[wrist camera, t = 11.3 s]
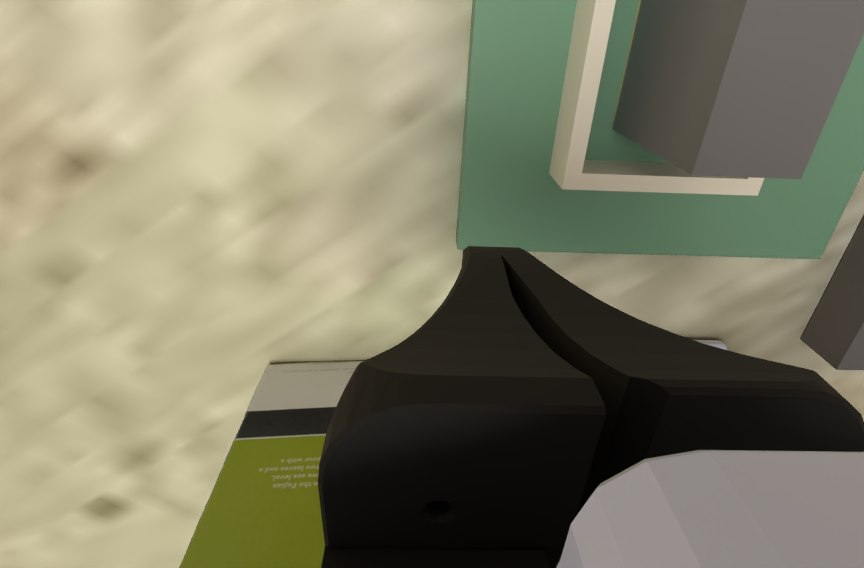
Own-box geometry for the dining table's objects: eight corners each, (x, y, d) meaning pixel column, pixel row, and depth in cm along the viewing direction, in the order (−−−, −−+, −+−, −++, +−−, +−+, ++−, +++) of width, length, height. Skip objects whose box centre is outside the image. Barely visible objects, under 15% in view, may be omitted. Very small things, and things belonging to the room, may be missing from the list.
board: (803, 249, 22) (856, 281, 19) (456, 239, 21) (460, 270, 19) (1034, -245, 14) (1175, -306, 11) (492, -283, 13) (510, -356, 11)
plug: (690, 132, 18) (801, 179, 13) (612, 129, 18) (691, 175, 13) (745, -51, 15) (915, -87, 10) (653, -56, 15) (776, -95, 10)
